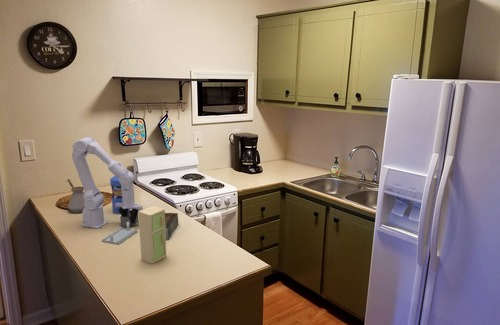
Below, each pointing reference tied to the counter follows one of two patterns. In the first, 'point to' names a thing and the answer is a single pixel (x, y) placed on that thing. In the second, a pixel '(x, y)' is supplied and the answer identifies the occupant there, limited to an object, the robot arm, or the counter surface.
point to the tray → (120, 235)
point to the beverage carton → (170, 223)
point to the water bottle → (116, 193)
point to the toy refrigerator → (152, 234)
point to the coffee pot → (76, 199)
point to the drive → (127, 220)
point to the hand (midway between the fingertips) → (129, 222)
